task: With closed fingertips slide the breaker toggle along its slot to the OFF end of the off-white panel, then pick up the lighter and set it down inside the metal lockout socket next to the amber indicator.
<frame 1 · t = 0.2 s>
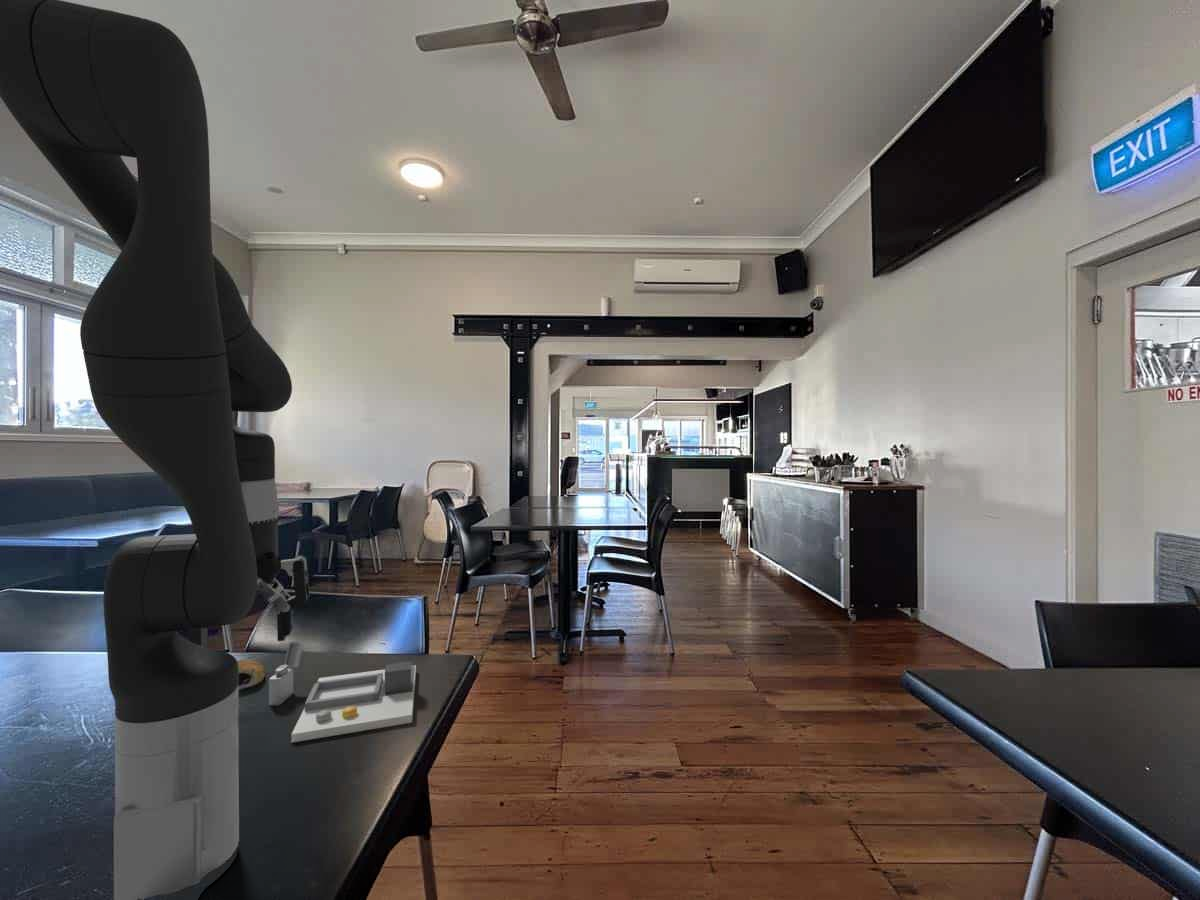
hand: (243, 643, 62), 17 cm above the table, tool pointing down, fingers open, 8 cm apart
lighter: (286, 695, 84), on the table
pastry: (240, 684, 88), on the table
breaker toggle: (398, 677, 83), point 3 cm above the table, slide at 0.0 cm
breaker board: (362, 702, 81), on the table
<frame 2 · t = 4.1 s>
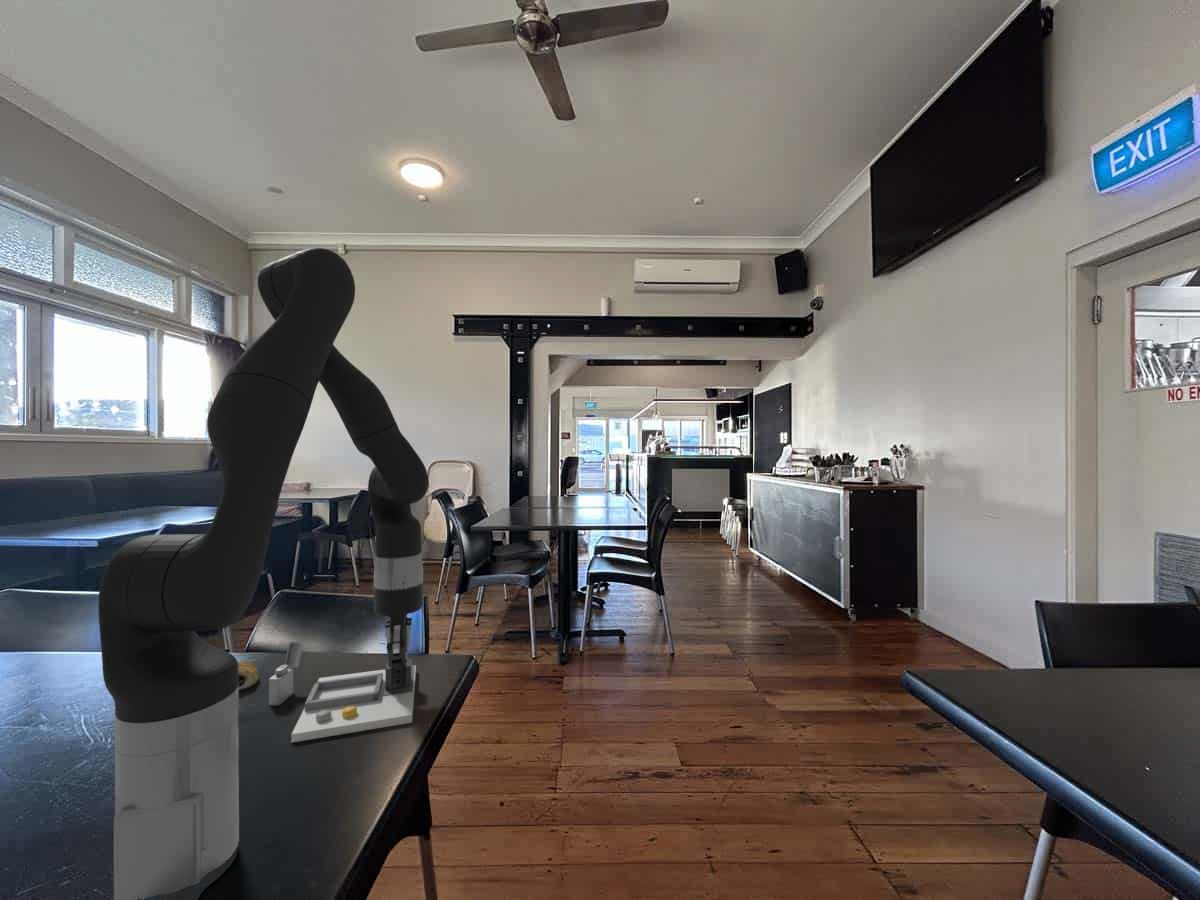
hand: (398, 685, 81), 3 cm above the table, tool pointing down, fingers closed
breaker toggle: (398, 674, 84), point 3 cm above the table, slide at 1.2 cm, touching gripper
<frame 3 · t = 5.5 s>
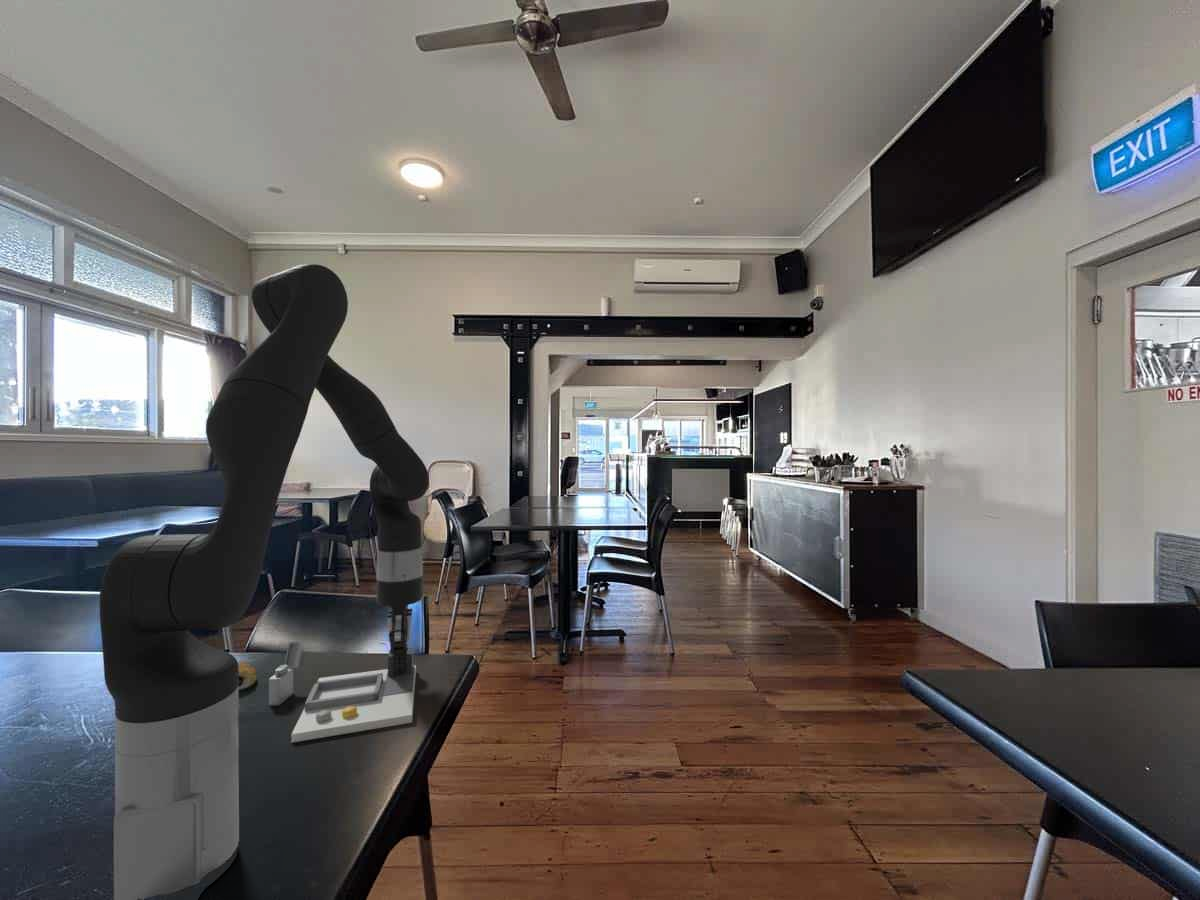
hand: (400, 672, 86), 3 cm above the table, tool pointing down, fingers closed
breaker toggle: (400, 661, 89), point 3 cm above the table, slide at 6.5 cm, touching gripper
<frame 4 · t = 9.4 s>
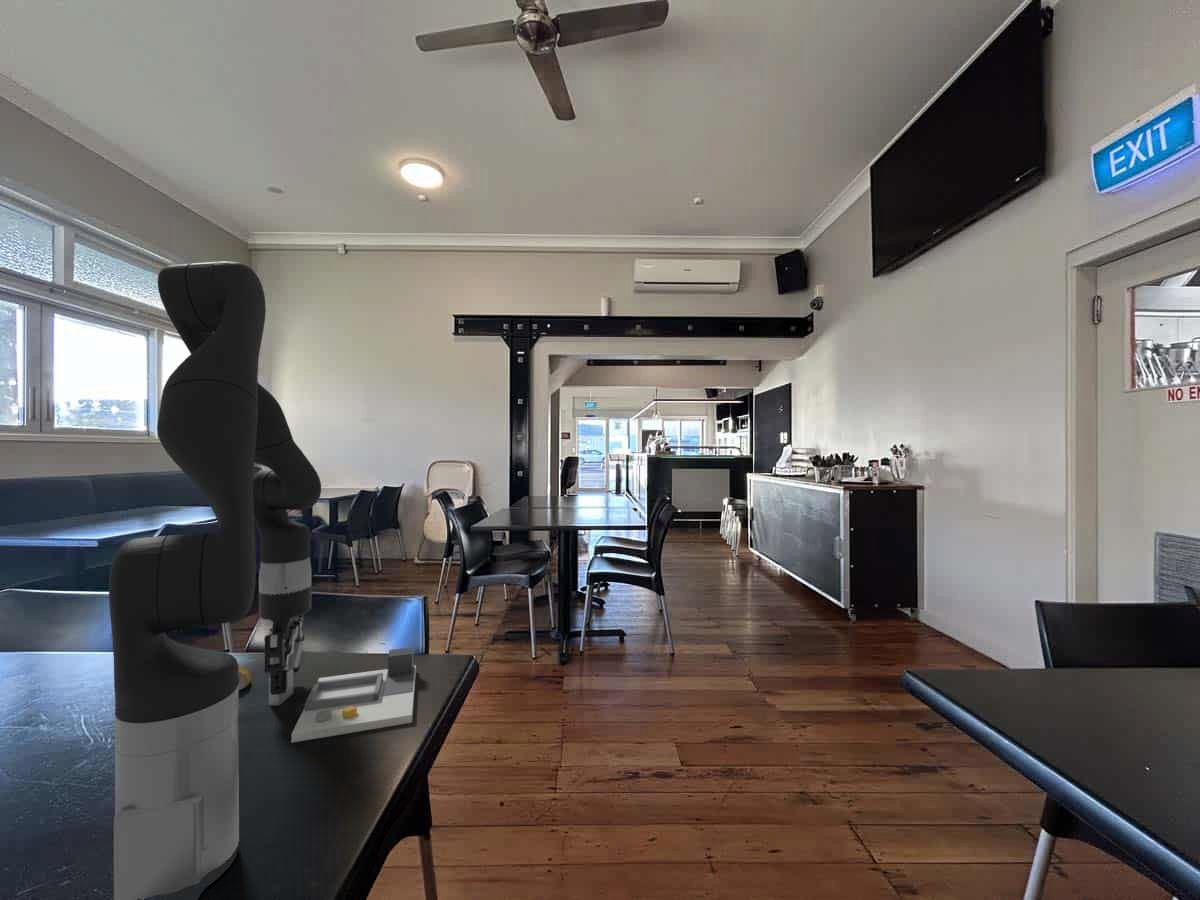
hand: (285, 681, 84), 2 cm above the table, tool pointing down, fingers closed on lighter, 7 cm apart
lighter: (286, 695, 84), on the table, touching gripper
breaker toggle: (400, 661, 89), point 3 cm above the table, slide at 6.5 cm
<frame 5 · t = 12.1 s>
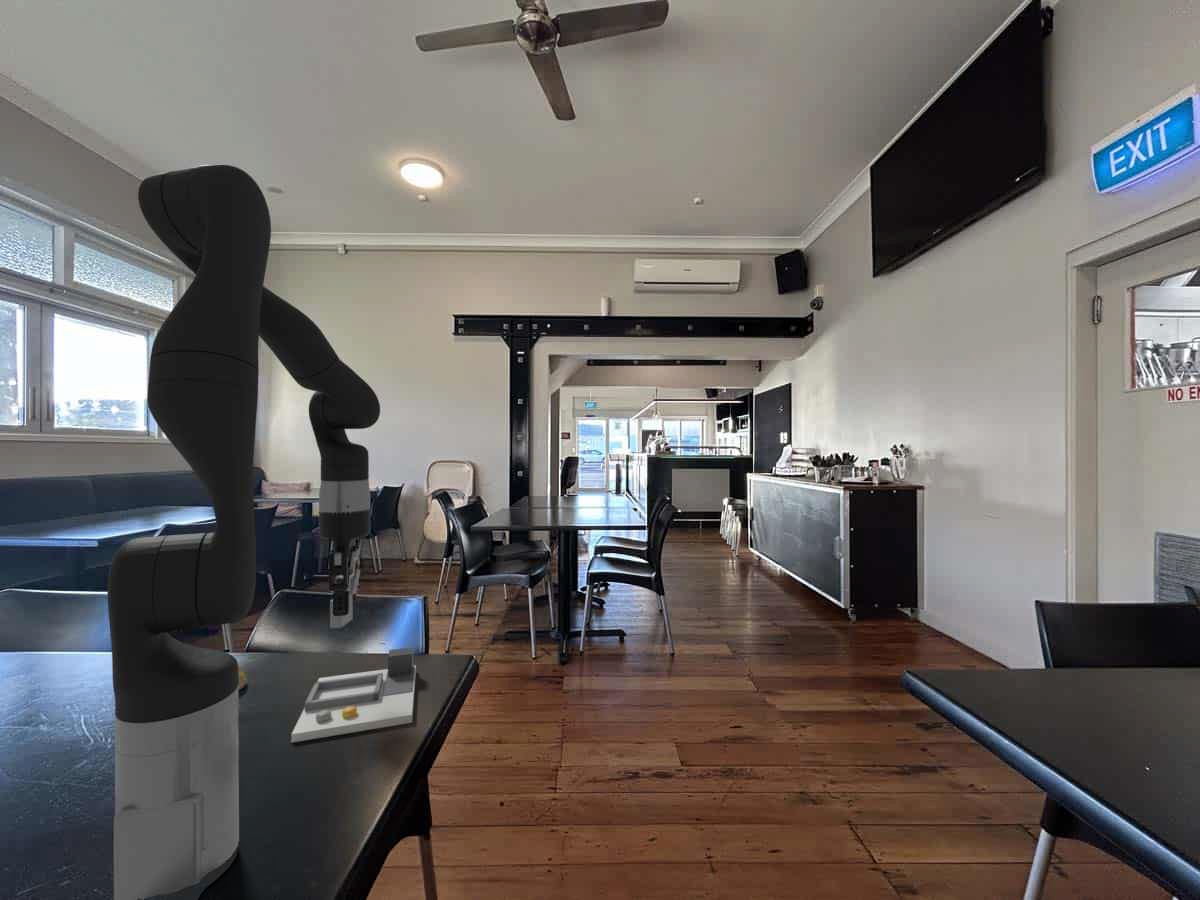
hand: (345, 607, 81), 16 cm above the table, tool pointing down, fingers closed on lighter, 7 cm apart
lighter: (346, 621, 81), point 13 cm above the table, touching gripper
when the fingers open (4 cm above the table, at t = 14.8 s): lighter stays where it is, resting on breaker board.
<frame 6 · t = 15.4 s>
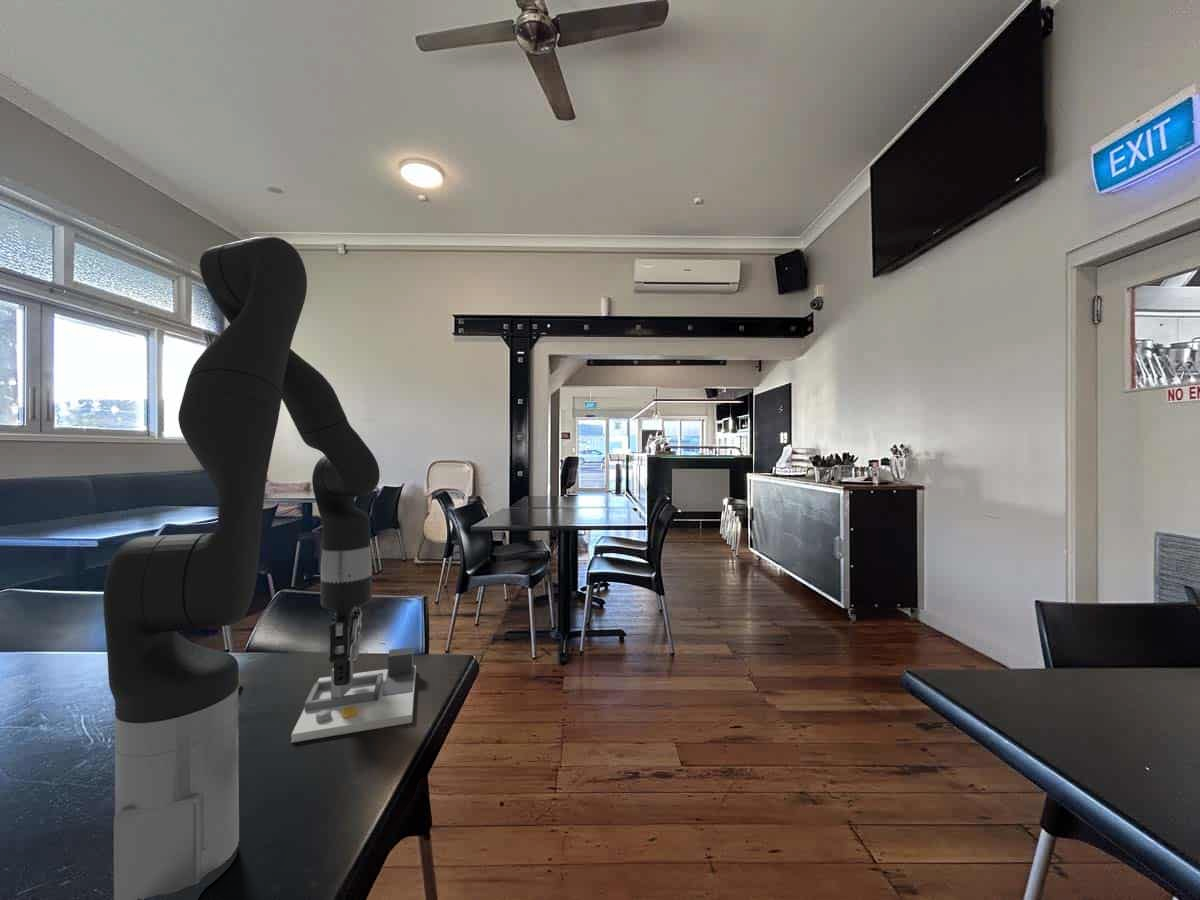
hand: (346, 672, 81), 5 cm above the table, tool pointing down, fingers open, 8 cm apart
lighter: (346, 689, 81), point 2 cm above the table, touching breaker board, gripper
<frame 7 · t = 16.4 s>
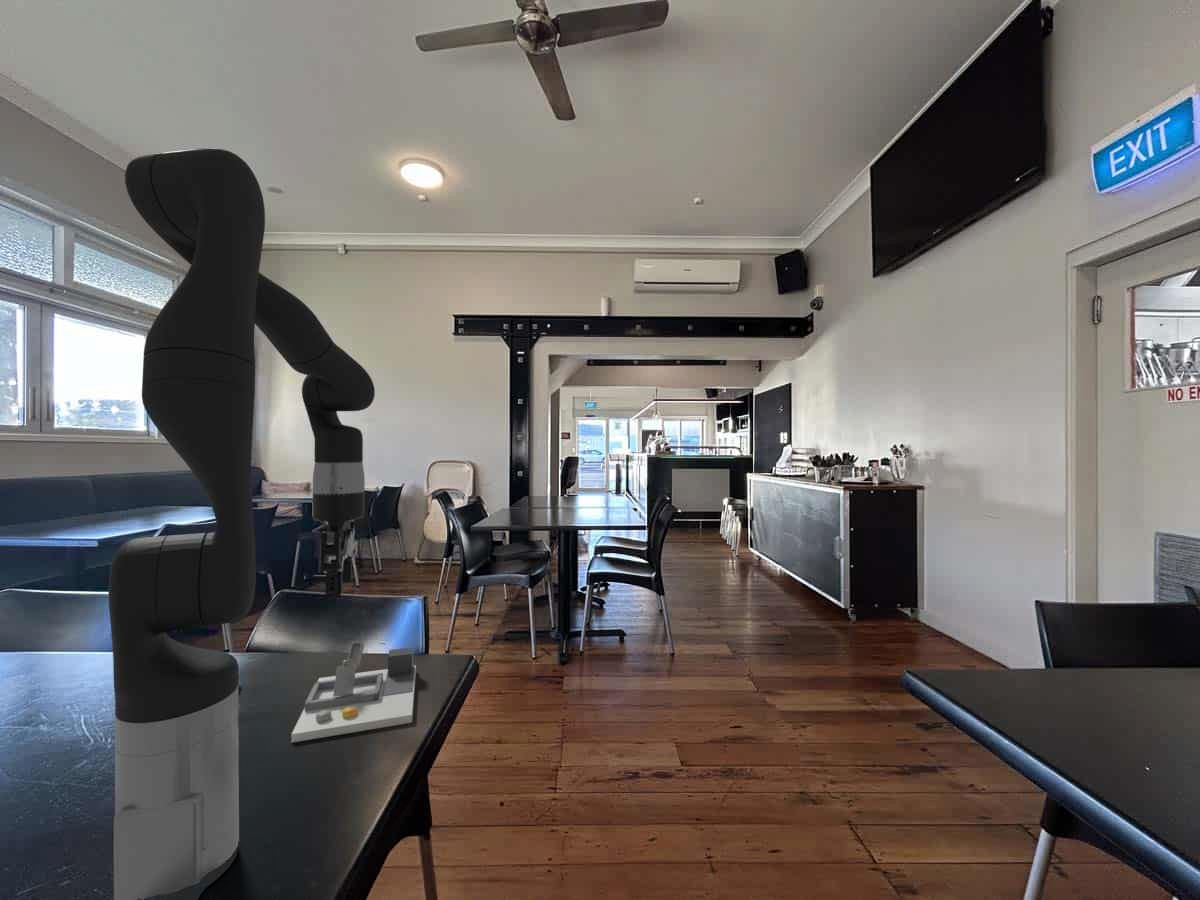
hand: (339, 589, 81), 19 cm above the table, tool pointing down, fingers open, 8 cm apart
lighter: (346, 695, 81), point 1 cm above the table, touching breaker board
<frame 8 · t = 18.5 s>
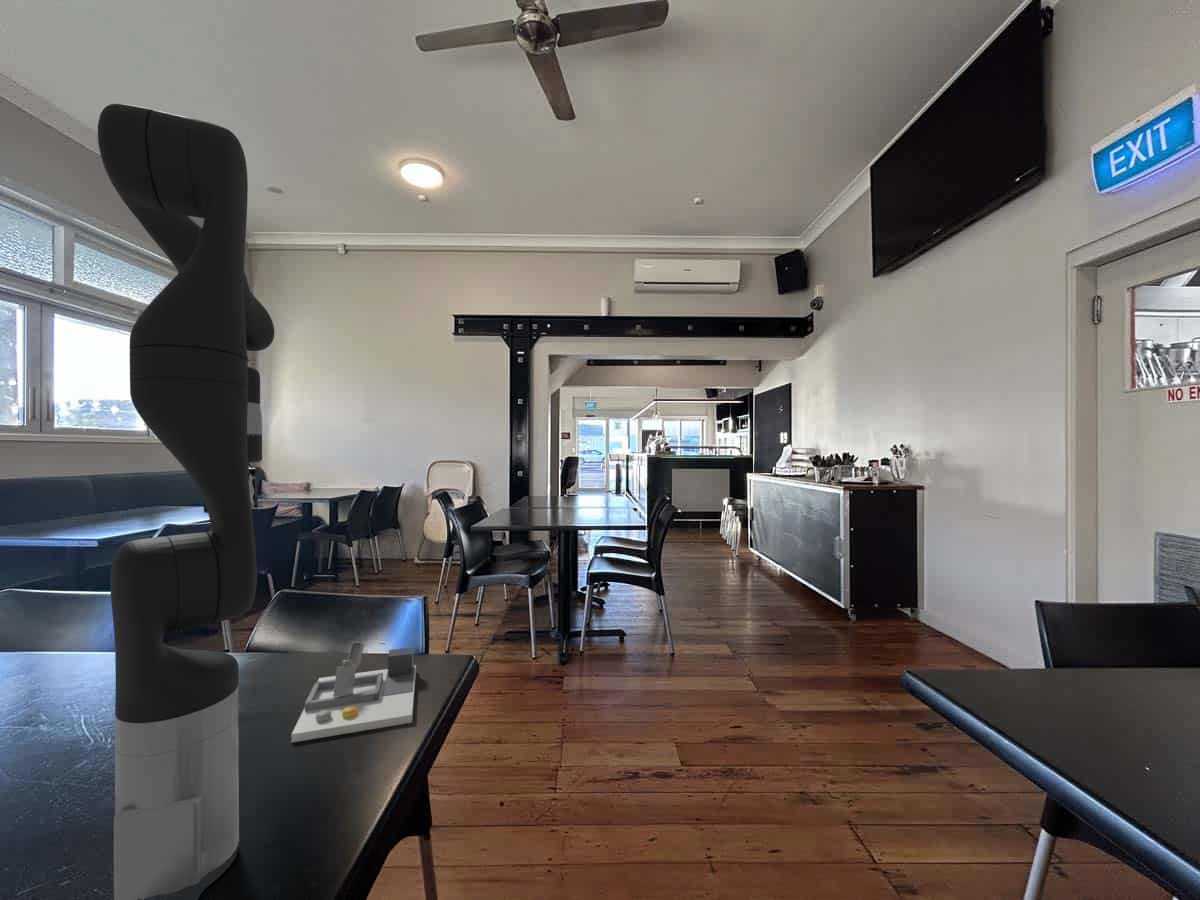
hand: (233, 535, 77), 28 cm above the table, tool pointing down, fingers open, 8 cm apart
at the end: breaker toggle slide at 6.5 cm; lighter inside the target area on the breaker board (0.2 cm from its centre), point 1.2 cm above the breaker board's base; the gripper is holding nothing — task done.
